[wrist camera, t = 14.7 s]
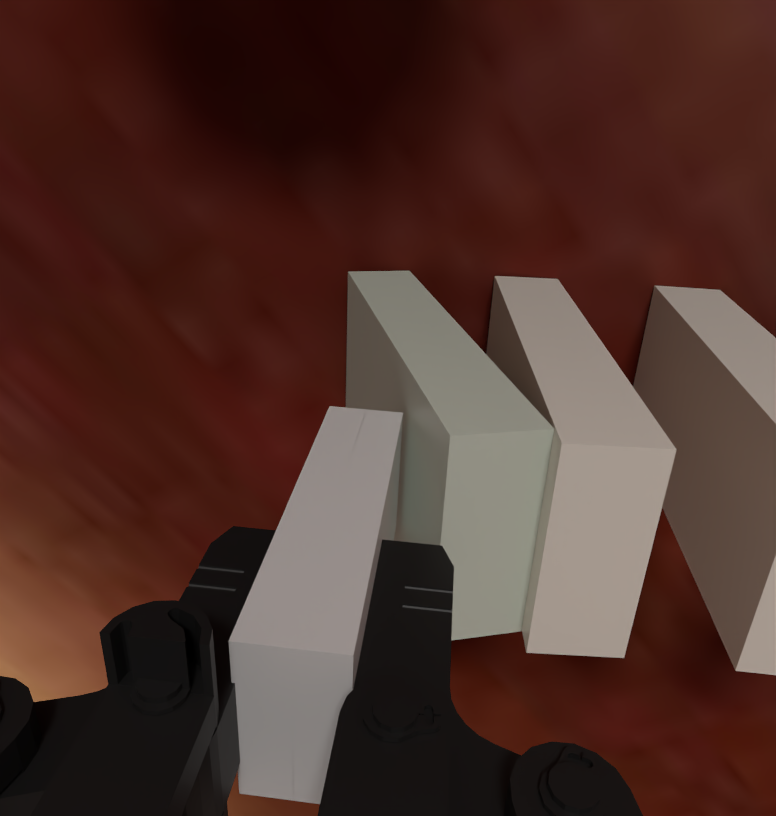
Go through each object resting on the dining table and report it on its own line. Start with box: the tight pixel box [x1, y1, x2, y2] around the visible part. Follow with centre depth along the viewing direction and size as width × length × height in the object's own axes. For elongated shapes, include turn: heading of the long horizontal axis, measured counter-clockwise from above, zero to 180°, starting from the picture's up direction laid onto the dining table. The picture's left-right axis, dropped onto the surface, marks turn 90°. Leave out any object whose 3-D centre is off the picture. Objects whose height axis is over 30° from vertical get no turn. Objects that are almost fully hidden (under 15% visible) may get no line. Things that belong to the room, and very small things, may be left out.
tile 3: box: [633, 286, 776, 675], centre depth 16 cm, size 2×4×10 cm, turn 178°
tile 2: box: [486, 276, 677, 658], centre depth 16 cm, size 2×4×10 cm, turn 177°
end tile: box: [346, 271, 554, 640], centre depth 17 cm, size 2×4×10 cm, turn 178°
